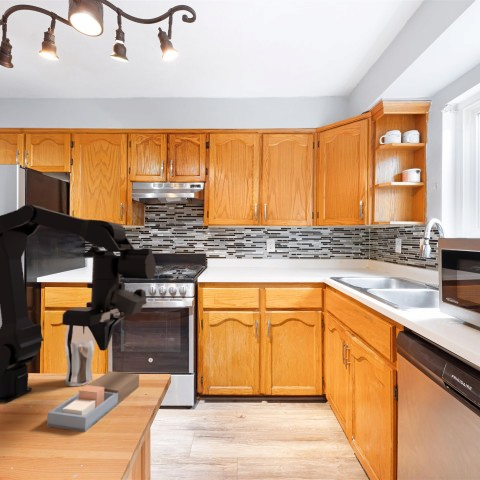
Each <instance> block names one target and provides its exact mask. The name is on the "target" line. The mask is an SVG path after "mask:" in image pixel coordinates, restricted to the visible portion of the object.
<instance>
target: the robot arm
mask: <svg viewBox="0 0 480 480" xmlns="http://www.w3.org/2000/svg"><path fill="white" fill-rule="evenodd" d="M41 226H44V227H47V228H51V229H54V230H58V231H61V232H65V233H68V234H71V235H76V236H77V237H79V238H80V239H81V240H83V241H84V242H86V243H89V244H91V245H93V246H90V248H89V249H88V250H87V251H85V252H84V253H83V255H82V256H83V257H84V258H92V276H91V282H87V284H86V288H87V289H91V296H90V301H87V302H86V304H85V305H86V307H83V306H79V307H74V308H69V309H66V310H65V311H64V312H63V313H62V320H61V321H62V322H61V324H62V325H63V326H67V325H72V326H85V327H86V326H88V328H89V329H90V331H91V333H92V335H93V336H94V338H95V340H96V342H95V344H97V346H98V349H99V350H100V351H104V352H105V351H106V350H107V349H108V347H109V344H110V341H111V338H112V336H113V333H114V330H115V328H116V326H117V324H118V323H119V322H120V321H122V320H123V319H124V318H125V317H126V315H128V316H134V315H135V314H137V313H138V314H140V313H141V311H142V308H143V306H144V305H146V304H147V303H148V302H147V294H146V293H147V292H146V290H144V289H142V288H138V289H135V290H134V291H133V290H130V291H129V290H126V284H125V282H124V281H123V282H121V276H122V278H123V279H125V280H147V281H149V280H153V278H154V277H155V274H156V270H157V269H156V268H157V263H156V260H155V257H154V256H155V255H154V254H153V248H145V247H144V248H143V247H142V248H134V246H133V245H132V242H131V241H130V240H129V239H128V237H127V233H126V230H125V228H124V226H123V225H122V224H120V223H117V222H111V221H107V220H100V219H87V218H86V219H84V218H80V217H77V216H73V215H69V214H66V213H62V212H58V211H55V210H51V209H47V208H46V207H43V206H39V205H34V204H25V205H22V206H21V207H20V208H18V209H16V210H13V211H9V212H6V213H5V214H1V215H0V315H1V317H0V319H1V325H0V402H3V403H9V402H11V401H13V400H15V399H17V398H19V397H21V396H24V395H25V394H27V393H29V392H31V391H32V390H33V387H32V386H31V387H30V386H28V385H29V372H28V367H29V366H28V365H29V363H31V362H34V361H35V358H36V356H37V353H38V352H39V351H40V350H41V349H42V342H43V341H44V337H43V335H42V325H41V323H38V324H34V323H33V321H32V320H31V319H30V316H29V315H30V314H29V307H28V302H27V301H28V300H27V294H26V286H25V285H26V284H25V278H24V277H25V275H24V270H23V261H22V258H23V257H22V256H23V255H24V252H25V251H26V249H27V247H28V238H29V237H30V236H32V235H34V234H35V233H37V231H38V230H39V228H40V227H41ZM100 248H103V249H104V250H103V249H102V250H101V249H100ZM115 253H119V255H118V254H115ZM120 311H121V312H123V315H122V314H121V312H120ZM124 314H125V315H124ZM27 364H28V365H27Z"/></svg>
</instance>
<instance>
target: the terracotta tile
mask: <svg viewBox="0 0 480 480" xmlns="http://www.w3.org/2000/svg"><path fill="white" fill-rule="evenodd" d="M78 393H79V399H84V400H93V401H95V408H96V407H97V406H98V405H100V404H101V403H102V402H104V387H99V386H89V385H88V384H86V385H85V386H84V387H82V388H80V389H79V390H78Z"/></svg>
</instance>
